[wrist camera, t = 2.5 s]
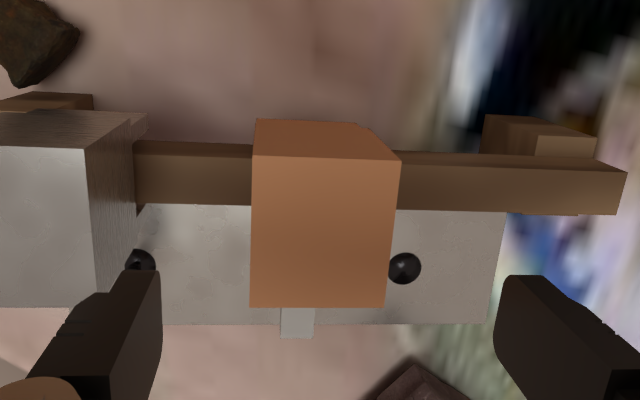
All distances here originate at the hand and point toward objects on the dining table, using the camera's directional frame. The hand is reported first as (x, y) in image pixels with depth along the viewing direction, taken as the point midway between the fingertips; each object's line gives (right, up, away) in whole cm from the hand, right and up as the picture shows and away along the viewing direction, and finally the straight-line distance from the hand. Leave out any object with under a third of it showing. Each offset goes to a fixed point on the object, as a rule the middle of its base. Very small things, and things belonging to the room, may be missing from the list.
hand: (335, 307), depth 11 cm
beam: (-2, +6, +17) cm, 18 cm away
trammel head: (-2, +3, +16) cm, 17 cm away
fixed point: (-11, +3, +15) cm, 19 cm away
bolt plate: (-2, -1, +19) cm, 19 cm away
